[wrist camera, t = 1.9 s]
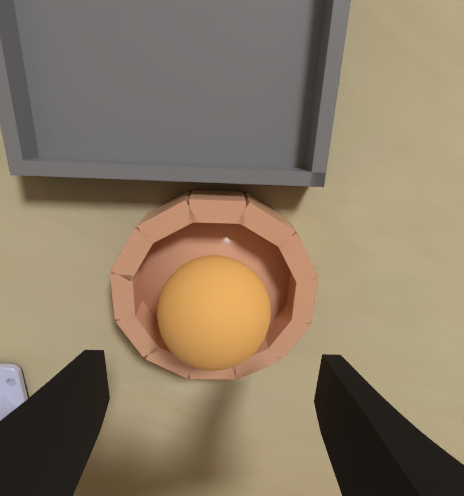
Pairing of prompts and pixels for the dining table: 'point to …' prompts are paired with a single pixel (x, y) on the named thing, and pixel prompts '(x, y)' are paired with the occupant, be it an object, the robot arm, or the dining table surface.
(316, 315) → the dining table surface
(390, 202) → the dining table surface
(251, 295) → the ball
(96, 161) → the tray
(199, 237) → the dish
